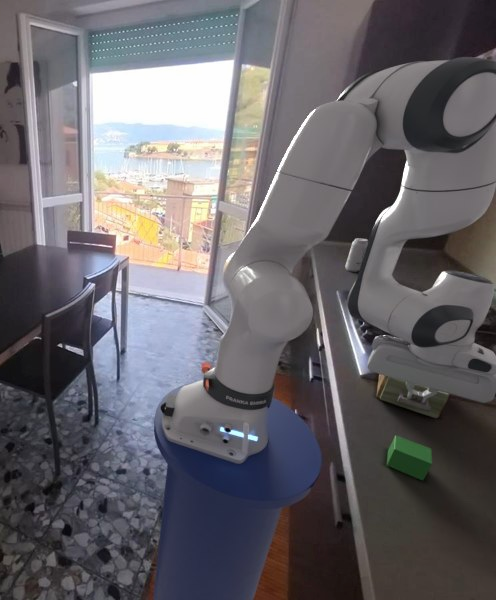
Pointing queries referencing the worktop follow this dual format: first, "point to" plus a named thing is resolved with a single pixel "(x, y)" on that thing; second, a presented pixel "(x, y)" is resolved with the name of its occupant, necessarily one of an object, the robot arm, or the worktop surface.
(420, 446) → the block
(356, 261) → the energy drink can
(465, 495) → the worktop surface
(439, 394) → the drawer
